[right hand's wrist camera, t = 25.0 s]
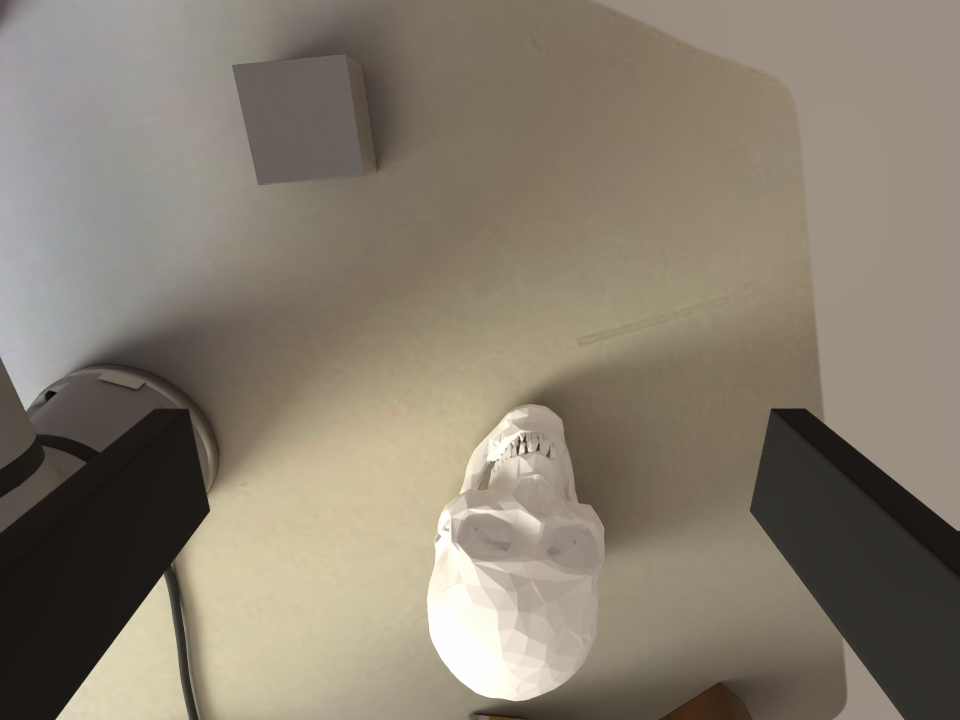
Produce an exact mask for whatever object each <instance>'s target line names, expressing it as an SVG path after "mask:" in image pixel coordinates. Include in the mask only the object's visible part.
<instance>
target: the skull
mask: <svg viewBox="0 0 960 720" xmlns="http://www.w3.org/2000/svg"><path fill="white" fill-rule="evenodd" d="M531 435H532V439H531ZM537 436H538V438H539V440H538V439H537ZM524 437H526V442H527V441H528V442H527V443H526V442H522V441H523V439H524ZM520 439H521V443H520V449H519V455H517V452H516V448H517V447H518V446H519V444H518V440H520ZM543 439H544V440H543ZM538 443H540V451H536V449H537V446H538ZM526 444H527V448H528V452H529V453H527V454H524V452H525V446H526ZM512 445H513V446H514V448H513V446H512ZM512 448H513V449H512ZM549 448H550V457H549V458H548V457H546V455H547V453H548V451H549ZM492 461H496V462H495V465H494V468H493V469H492V471H491V475H490V477H491V478H490V480H489V483H488V486H487V490H478V487H479V486H480V484H481V483H482V481H483V478H484V476H485V474H486V471H487V469H488V466H489V464H490V462H492ZM434 540H435V547H436V564H435V567H434V570H433V574H432V577H431V580H430V583H429V591H428V599H427V604H428V616H429V628H430V634H431V638H432V641H433V643H434V645H435V647H436V649H437V651H438V653H439V655H440V657H441V659H442V660H443V661H444V662H445V664H446V665H447V666H448V668H449V669H450V670H451V672H452V673H453V674H454V675H455V676H456V677H457V678H458V679H459V680H460V681H461V682H462V683H464V684H465V685H466V686H468V687H469V688H471V689H472V690H473V691H475V692H476V693H478V694H481V695H484V696H487V697H490V698H503V699H508V700H512V701H521V700H528V699H531V698H534V697H536V696H539V695H542V694H544V693H546V692H548V691H551V690H553V689H555V688H557V687H558V686H560V685H562V684H563V683H565V682H566V681H567V680H568V679H569V678H570V677H572V676H573V675H574V674H575V673H576V672H577V670H578V669H579V668H580V667H581V666H582V665H583V663H584V662H585V661H586V659H587V657H588V655H589V652H590V650H591V648H592V646H593V644H594V641H595V637H596V633H597V630H598V623H599V619H598V577H599V575H600V572H601V570H602V567H603V564H604V557H605V546H604V527H603V525H602V523H601V521H600V519H599V517H598V516H597V514H596V513H595V511H594V509H593V508H592V506H591V505H587V504H580V503H578V499H577V495H576V491H575V483H574V474H573V468H572V463H571V459H570V454H569V451H568V449H567V446H566V443H565V439H564V427H563V422H562V419H561V418H559V417H558V416H557V415H556V414H555V413H554V412H553V411H552V410H550V409H549V408H547V407H545V406H541V405H534V404H528V405H523V406H519V407H517V408H515V409H513V410H511V411H509V412H508V413H507V414H506V416H505V417H504V418H503V419H502V420H501V422H500V423H499V424H498V425H497V426H496V427H495V428H494V429H493V430H492V431H491V432H490V434H489V435H488V436H487V437H486V438H485V439H484V440H483V441H482V442H481V443H480V444H479V445H478V447H477V448H476V449H475V450H474V452H473V454H472V456H471V458H470V461H469V464H468V466H467V471H466V476H465V480H464V484H463V486H462V489H461V491H460V494H459V495H458V496H457V497H455V498H453V499H452V500H451V501H450V502H449V503H448V504H447V505H446V507H445V508H444V510H443V512H442V513H441V516H440V520H439V523H438V534H437V535H436V537H435V538H434Z"/></svg>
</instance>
